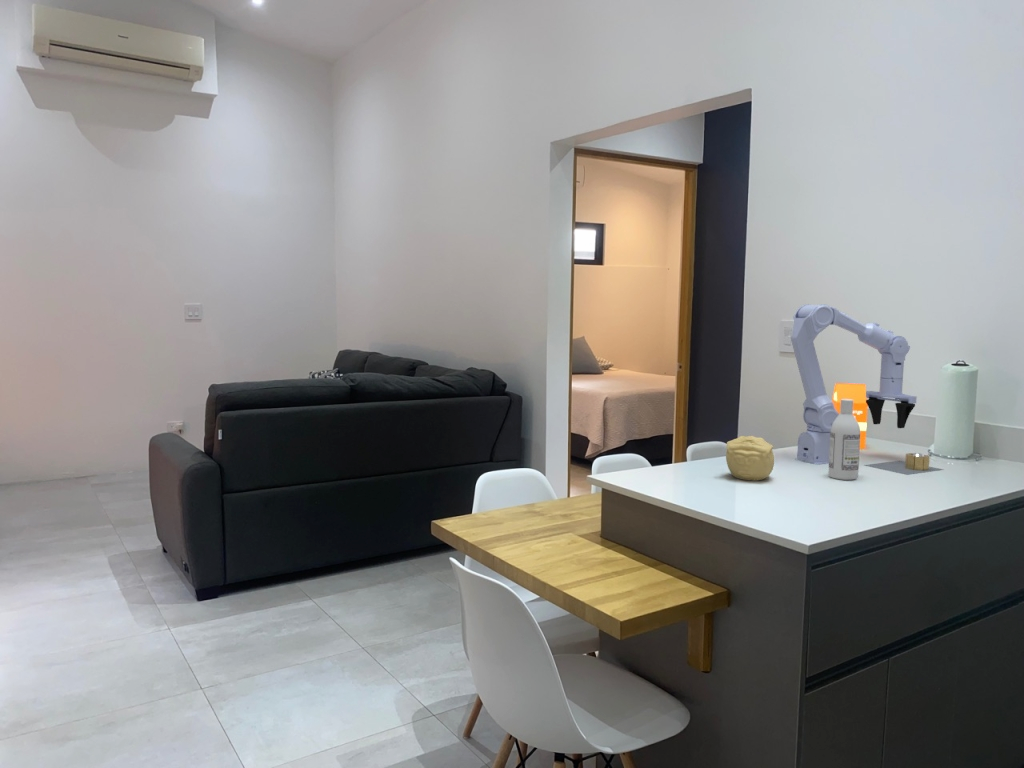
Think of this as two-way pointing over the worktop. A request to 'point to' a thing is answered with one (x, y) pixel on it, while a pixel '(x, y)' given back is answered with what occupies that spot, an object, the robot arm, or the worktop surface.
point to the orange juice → (859, 404)
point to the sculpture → (750, 458)
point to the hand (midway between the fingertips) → (888, 426)
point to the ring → (917, 462)
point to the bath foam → (844, 444)
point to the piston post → (917, 454)
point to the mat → (899, 467)
